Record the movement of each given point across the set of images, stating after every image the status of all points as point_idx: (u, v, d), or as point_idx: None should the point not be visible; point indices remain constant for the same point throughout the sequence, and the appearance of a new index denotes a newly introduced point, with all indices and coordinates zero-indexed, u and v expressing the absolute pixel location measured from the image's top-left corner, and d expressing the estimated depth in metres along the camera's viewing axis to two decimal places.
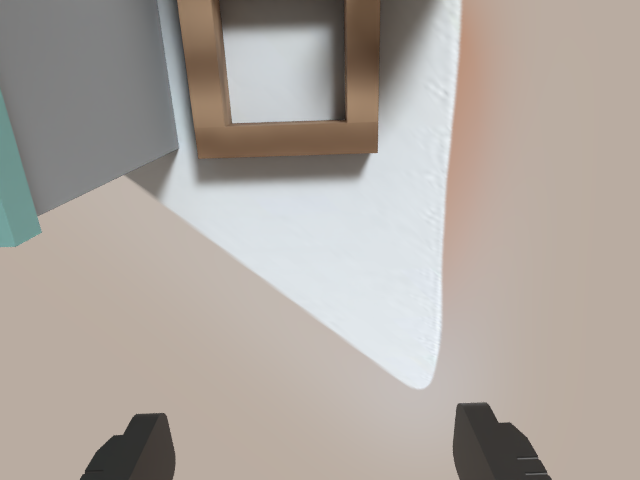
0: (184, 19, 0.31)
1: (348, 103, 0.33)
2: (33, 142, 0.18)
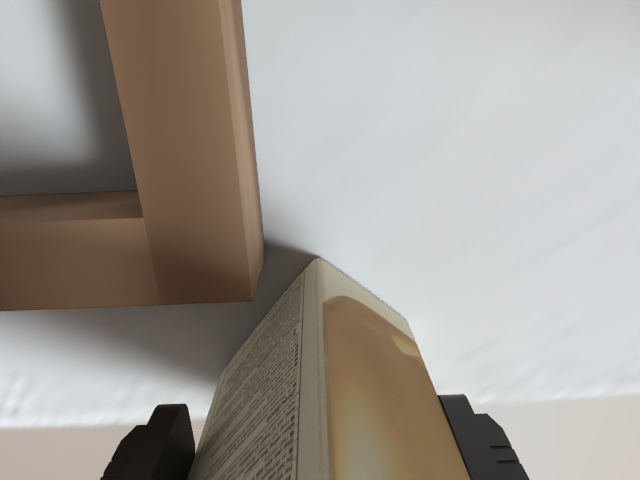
0: None
1: None
2: None
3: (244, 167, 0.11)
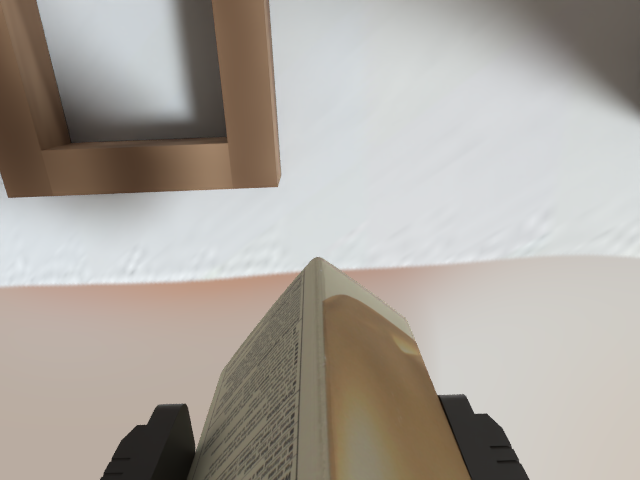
0: None
1: (69, 151, 0.22)
2: None
3: (274, 120, 0.23)
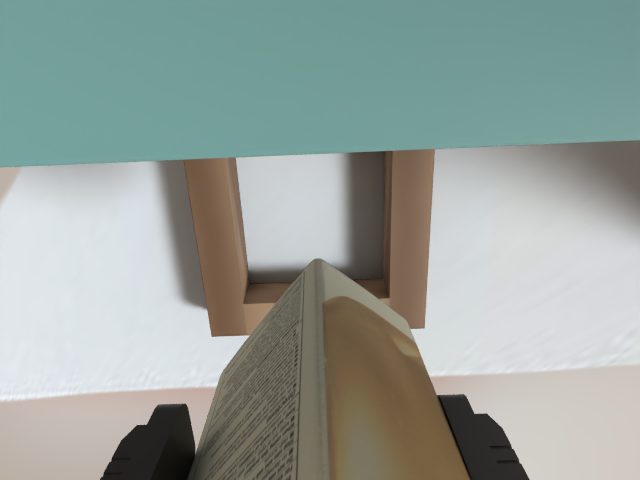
0: None
1: (265, 304, 0.28)
2: None
3: None
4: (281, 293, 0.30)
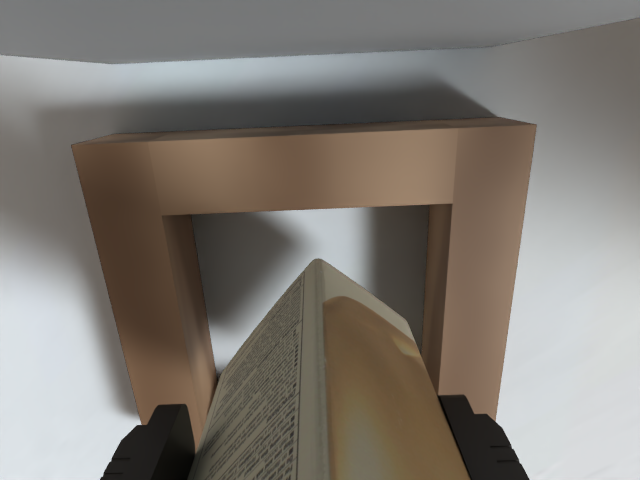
0: (392, 141, 0.13)
1: None
2: None
3: None
4: None
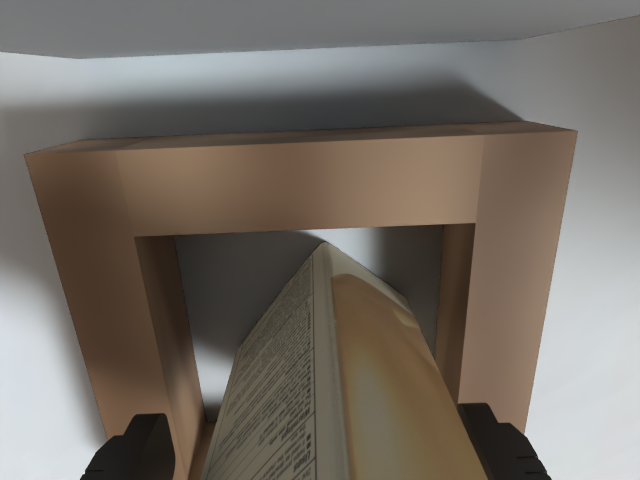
0: (405, 150, 0.11)
1: None
2: None
3: None
4: None
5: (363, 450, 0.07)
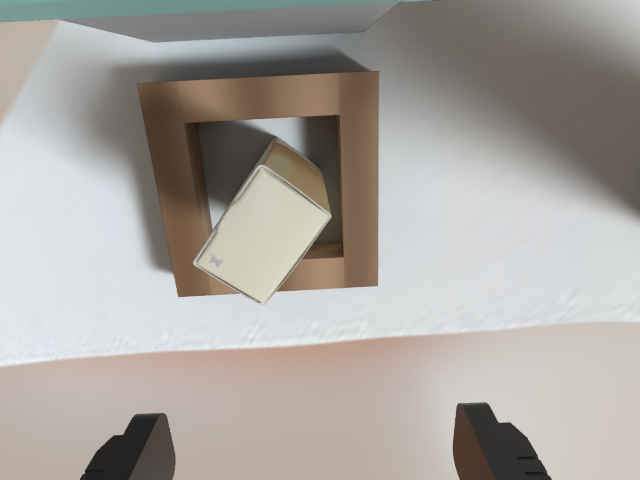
0: (304, 80, 0.26)
1: None
2: None
3: None
4: None
5: (272, 159, 0.21)
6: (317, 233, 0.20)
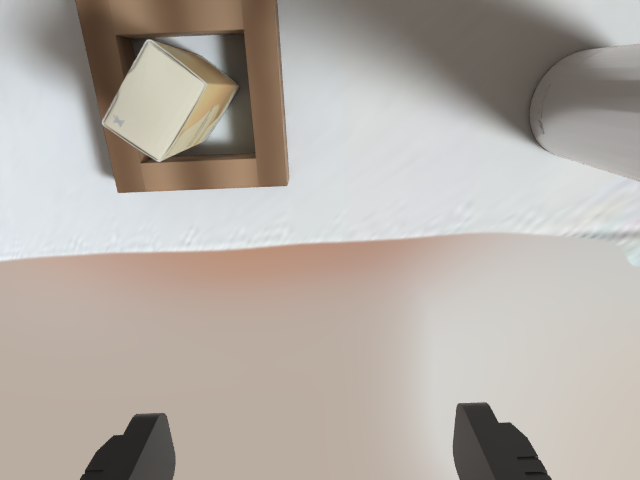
0: None
1: (157, 163, 0.36)
2: None
3: (285, 144, 0.36)
4: (174, 159, 0.37)
5: (168, 46, 0.27)
6: (197, 99, 0.26)
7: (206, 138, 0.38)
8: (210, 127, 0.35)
